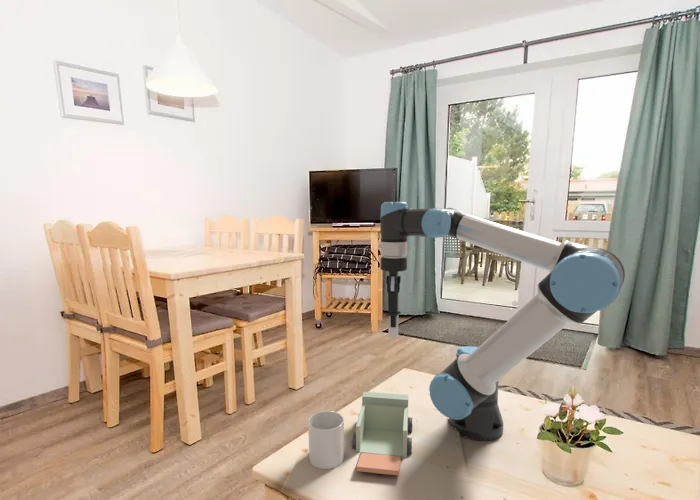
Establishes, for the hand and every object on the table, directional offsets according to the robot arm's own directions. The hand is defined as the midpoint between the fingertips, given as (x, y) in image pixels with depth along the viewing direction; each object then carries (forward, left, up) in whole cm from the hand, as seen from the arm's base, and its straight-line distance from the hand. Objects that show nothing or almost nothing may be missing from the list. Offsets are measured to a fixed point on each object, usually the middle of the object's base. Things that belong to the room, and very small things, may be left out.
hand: (393, 336), depth 114 cm
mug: (+16, +19, -27) cm, 36 cm away
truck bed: (+2, +9, -26) cm, 28 cm away
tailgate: (+2, +18, -25) cm, 31 cm away
